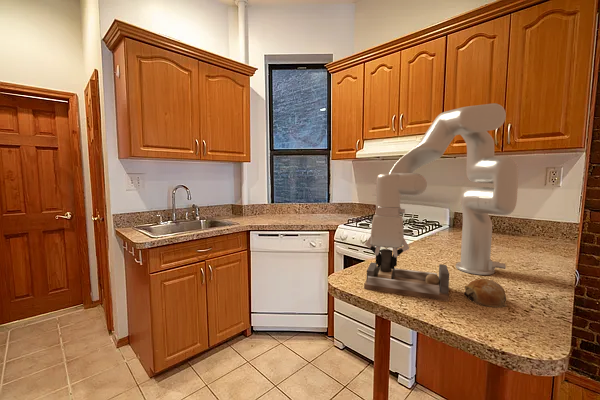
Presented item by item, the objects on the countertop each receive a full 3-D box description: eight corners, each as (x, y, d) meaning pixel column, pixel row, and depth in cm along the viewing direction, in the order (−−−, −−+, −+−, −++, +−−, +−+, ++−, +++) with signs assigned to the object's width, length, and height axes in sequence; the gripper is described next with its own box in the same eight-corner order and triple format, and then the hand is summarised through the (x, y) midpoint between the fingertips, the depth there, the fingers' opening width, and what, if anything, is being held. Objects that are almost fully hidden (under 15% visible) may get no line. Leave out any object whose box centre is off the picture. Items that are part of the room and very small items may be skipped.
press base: (444, 285, 92) (445, 263, 92) (448, 301, 81) (449, 276, 81) (369, 275, 102) (370, 255, 101) (364, 288, 90) (364, 265, 90)
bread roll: (498, 322, 77) (516, 300, 74) (460, 299, 81) (475, 277, 79) (496, 308, 85) (512, 287, 83) (461, 287, 90) (475, 267, 87)
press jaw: (394, 275, 97) (395, 247, 96) (392, 285, 88) (393, 254, 87) (380, 273, 98) (381, 246, 97) (377, 283, 90) (378, 253, 89)
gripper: (415, 211, 92) (413, 266, 93) (363, 209, 98) (362, 261, 100) (415, 214, 85) (413, 274, 87) (359, 212, 91) (358, 267, 93)
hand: (386, 266), depth 93 cm, fingers open, 3 cm apart
